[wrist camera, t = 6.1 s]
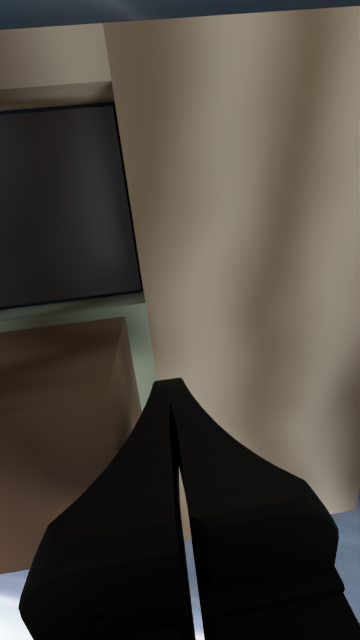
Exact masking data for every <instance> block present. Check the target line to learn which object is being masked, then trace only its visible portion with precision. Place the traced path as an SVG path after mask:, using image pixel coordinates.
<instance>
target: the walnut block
mask: <svg viewBox="0 0 360 640" xmlns="http://www.w3.org/2000/svg"><path fill="white" fill-rule="evenodd" d="M141 413H142V410H141V405H140V399H139V393H138V388H137V382H136V377H135V371H134V365H133V360H132V354H131V349H130V343H129V337H128V332H127V326H126V321H125V317H118V318H110V319H101V320H93V321H85V322H77V323H69V324H61V325H53V326H45V327H37V328H29V329H21V330H13V331H5V332H0V574H5V573H10V572H16V571H22V570H28V569H30V567H31V564H32V561H33V558H34V556H35V553H36V551H37V549H38V546H39V544H40V542H41V540H42V538H43V535H44V533H45V531H46V529H47V526H48V525H49V524H50V523H51V522H52V521H53V520H54V519H56V518H57V517H58V516H59V515H60V514H61V513H62V512H63V511H64V510H66V509H67V508H68V507H69V506H70V505H71V504H72V503H73V502H74V501H75V500H77V499H78V498H79V497H80V496H81V495H82V494H83V493H84V492H85V491H86V489H87V488H88V487H89V486H90V485H91V484H92V483H93V482H94V481H95V480H96V479H97V478H98V476H99V475H100V474H101V473H102V472H103V471H104V470H105V468H106V467H107V466H108V465H109V463H110V462H111V461H112V459H113V458H114V457H115V456H116V454H117V453H118V452H119V450H120V449H121V447H122V446H123V444H124V443H125V441H126V440H127V438H128V437H129V435H130V433H131V432H132V430H133V428H134V426H135V425H136V423H137V421H138V419H139V417H140V415H141Z"/></svg>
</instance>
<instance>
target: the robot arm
mask: <svg viewBox="0 0 360 640" xmlns="http://www.w3.org/2000/svg"><path fill="white" fill-rule="evenodd" d="M179 469H180V474H181V478H182V483H183V488H184V492H185V497H186V502H187V508H188V516H189V523H190V531H191V538H192V546H193V553H194V561H195V569H196V576H197V584H198V591H199V599H200V607H201V614H202V622H203V629H204V637H205V640H360V623H358V621H357V619H356V617H355V615H354V613H353V611H352V609H351V607H350V605H349V603H348V601H347V599H346V597H345V595H344V593H343V592H344V589H345V587H344V584H343V582H342V580H341V578H340V576H339V574H338V572H337V570H336V568H335V566H334V564H335V558H336V552H337V546H338V540H339V535H338V528H337V526H336V524H335V522H334V520H333V518H332V517H331V515H330V513H329V512H328V510H327V508H326V507H325V505H324V504H323V503H322V501H321V500H320V499H319V497H318V496H317V495H316V493H315V492H314V491H313V489H312V488H311V487H310V486H309V484H308V483H307V482H306V481H305V480H303V479H301V478H299V477H297V476H295V475H293V474H291V473H289V472H287V471H285V470H283V469H281V468H279V467H277V466H275V465H274V464H272V463H270V462H268V461H267V460H265V459H263V458H262V457H260V456H258V455H257V454H256V453H254V452H253V451H251V450H250V449H248V448H247V447H245V446H244V445H242V444H241V443H240V442H238V441H237V440H236V439H235V438H233V437H232V436H231V435H230V434H229V433H227V432H226V431H225V430H224V429H223V428H222V427H221V426H220V425H219V424H217V423H216V422H215V421H214V420H213V419H212V417H211V416H210V415H209V414H208V413H207V412H206V411H205V410H204V409H203V408H202V406H201V405H200V404H199V403H198V402H197V400H196V399H195V398H194V396H193V395H192V394H191V392H190V391H189V389H188V388H187V386H186V384H185V382H184V380H183V379H182V378H173V379H166V380H159V381H155V382H154V383H153V385H152V389H151V392H150V395H149V397H148V400H147V402H146V405H145V407H144V409H143V411H142V413H141V415H140V417H139V419H138V421H137V423H136V425H135V426H134V428H133V430H132V432H131V433H130V435H129V437H128V438H127V440H126V441H125V443H124V444H123V446H122V447H121V449H120V450H119V452H118V453H117V454H116V456H115V457H114V458H113V459H112V461H111V462H110V463H109V465H108V466H107V467H106V468H105V470H104V471H103V472H102V473H101V474H100V475H99V476H98V478H97V479H96V480H95V481H94V482H93V483H92V484H91V485H90V486H89V487H88V488H87V489H86V491H85V492H84V493H83V494H82V495H81V496H80V497H79V498H78V499H77V500H75V501H74V502H73V503H72V504H71V505H70V506H69V507H68V508H67V509H66V510H64V511H63V512H62V513H61V514H60V515H59V516H58V517H57V518H56V519H54V520H53V521H52V522H51V523H50V524H49V525H48V526H47V529H46V531H45V533H44V535H43V538H42V540H41V542H40V544H39V546H38V549H37V551H36V553H35V556H34V558H33V561H32V564H31V567H30V570H29V573H28V576H27V579H26V582H25V585H24V588H23V591H22V594H21V598H20V603H19V611H20V614H21V618H22V620H23V622H24V623H25V625H26V627H27V629H28V630H29V632H30V634H31V636H32V638H33V639H34V640H195V631H194V623H193V614H192V605H191V597H190V588H189V579H188V571H187V562H186V553H185V544H184V536H183V527H182V518H181V509H180V489H179Z"/></svg>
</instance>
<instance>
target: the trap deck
mask: <svg viewBox="0 0 360 640" xmlns="http://www.w3.org/2000/svg"><path fill="white" fill-rule="evenodd" d="M109 102H115V106H116V113H117V120H118V126H119V133H120V139H121V146H122V152H123V159H124V166H125V172H126V179H127V185H128V192H129V198H130V205H131V211H132V218H133V225H134V231H135V238H136V244H137V251H138V257H139V264H140V270H141V277H142V284H143V290H144V292H137V293H129V294H121V295H113V296H105V297H97V298H89V299H81V300H73V301H65V302H57V303H49V304H41V305H33V306H25V307H17V308H9V309H1V310H0V332H5V331H13V330H21V329H29V328H37V327H45V326H53V325H61V324H69V323H77V322H85V321H93V320H101V319H110V318H118V317H125V321H126V326H127V332H128V337H129V343H130V349H131V354H132V360H133V365H134V371H135V377H136V382H137V388H138V393H139V399H140V405H141V410H142V411H143V409H144V407H145V405H146V402H147V400H148V397H149V395H150V392H151V389H152V385H153V383H154V382H155V381H159V380H166V379H173V378H182V379H183V380H184V382H185V384H186V386H187V388H188V389H189V391H190V392H191V394H192V395H193V396H194V398H195V399H196V400H197V402H198V403H199V404H200V405H201V406H202V408H203V409H204V410H205V411H206V412H207V413H208V414H209V415H210V416H211V417H212V419H213V420H214V421H215V422H216V423H217V424H219V425H220V426H221V427H222V428H223V429H224V430H225V431H226V432H227V433H229V434H230V435H231V436H232V437H233V438H235V439H236V440H237V441H238V442H240V443H241V444H242V445H244V446H245V447H247V448H248V449H250V450H251V451H253V452H254V453H256V454H257V455H258V456H260V457H262V458H263V459H265V460H267V461H268V462H270V463H272V464H274V465H275V466H277V467H279V468H281V469H283V470H285V471H287V472H289V473H291V474H293V475H295V476H297V477H299V478H301V479H303V480H305V481H306V482H307V483H308V484H309V486H310V487H311V488H312V489H313V491H314V492H315V493H316V495H317V496H318V497H319V499H320V500H321V501H322V503H323V504H324V505H325V507H326V508H327V510H328V512H329V513H330V514H335V513H341V512H346V511H352V510H356V505H357V500H358V495H359V489H360V6H350V7H335V8H320V9H305V10H290V11H275V12H260V13H245V14H230V15H215V16H200V17H186V18H171V19H156V20H141V21H126V22H111V23H96V24H81V25H66V26H51V27H36V28H21V29H6V30H0V112H2V111H14V110H26V109H38V108H50V107H62V106H74V105H86V104H98V103H109ZM134 290H141V283H140V276H139V270H138V263H137V257H136V250H135V244H134V237H133V231H132V224H131V218H130V212H129V205H128V199H127V192H126V186H125V179H124V173H123V166H122V160H121V153H120V147H119V141H118V134H117V128H116V121H115V115H114V108H113V106H102V107H90V108H78V109H66V110H55V111H43V112H31V113H19V114H7V115H0V307H6V306H14V305H22V304H30V303H38V302H46V301H54V300H62V299H70V298H78V297H86V296H94V295H102V294H110V293H118V292H126V291H134ZM179 489H180V509H181V518H182V527H183V536H184V541H185V540H191V539H192V538H191V531H190V523H189V516H188V508H187V502H186V497H185V492H184V488H183V483H182V478H181V474H180V469H179Z"/></svg>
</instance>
